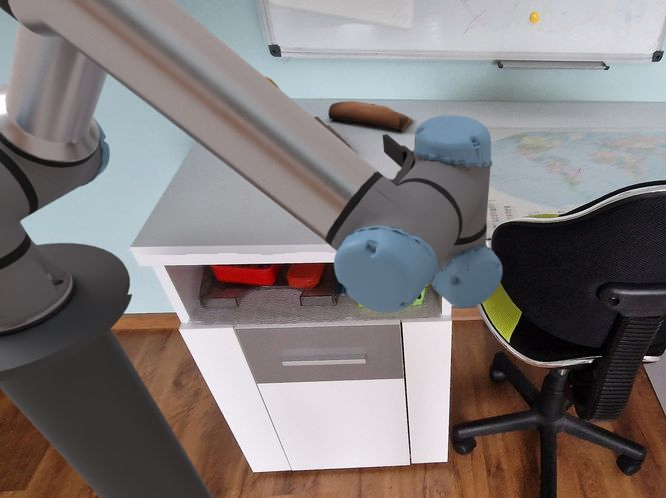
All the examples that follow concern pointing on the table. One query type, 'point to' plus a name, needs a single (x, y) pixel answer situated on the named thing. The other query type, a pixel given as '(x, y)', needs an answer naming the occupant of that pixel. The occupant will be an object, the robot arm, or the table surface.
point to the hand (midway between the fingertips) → (344, 152)
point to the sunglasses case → (368, 114)
